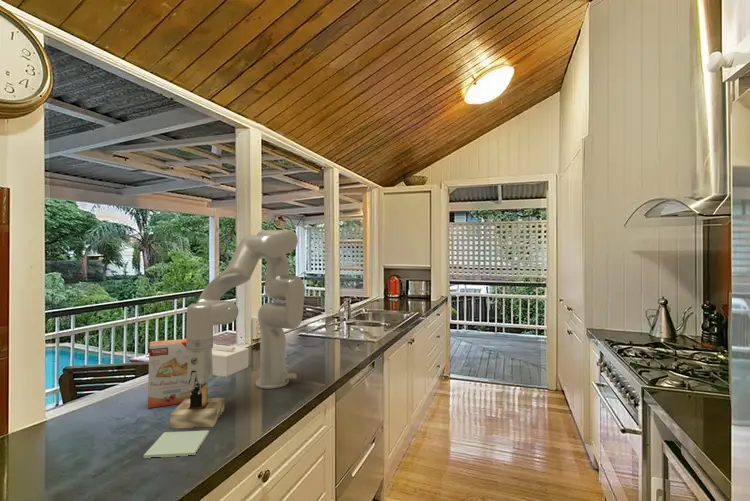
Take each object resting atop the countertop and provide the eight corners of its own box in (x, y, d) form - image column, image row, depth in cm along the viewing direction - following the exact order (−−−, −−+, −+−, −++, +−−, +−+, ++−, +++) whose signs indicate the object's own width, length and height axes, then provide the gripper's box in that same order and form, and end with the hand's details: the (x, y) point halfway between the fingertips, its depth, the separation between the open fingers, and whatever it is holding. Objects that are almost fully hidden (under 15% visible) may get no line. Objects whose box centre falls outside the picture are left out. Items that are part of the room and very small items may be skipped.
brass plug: (208, 415, 119) (208, 383, 119) (203, 421, 115) (204, 388, 115) (193, 416, 118) (194, 383, 119) (188, 422, 114) (189, 389, 114)
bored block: (224, 409, 123) (224, 397, 123) (213, 426, 111) (213, 413, 111) (185, 411, 122) (185, 398, 122) (169, 428, 110) (170, 414, 110)
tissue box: (203, 361, 178) (203, 338, 178) (248, 367, 170) (248, 343, 170) (178, 370, 164) (178, 345, 164) (226, 377, 156) (226, 350, 156)
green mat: (209, 433, 107) (209, 430, 107) (194, 455, 96) (194, 452, 96) (164, 435, 106) (164, 432, 106) (143, 458, 94) (143, 455, 94)
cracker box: (147, 409, 123) (148, 344, 123) (148, 402, 128) (149, 340, 128) (195, 402, 129) (196, 340, 129) (194, 396, 135) (195, 337, 135)
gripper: (203, 350, 109) (202, 414, 109) (220, 337, 126) (219, 393, 125) (176, 351, 108) (175, 415, 108) (196, 338, 125) (195, 393, 124)
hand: (198, 402), depth 117 cm, fingers closed on brass plug, 4 cm apart
